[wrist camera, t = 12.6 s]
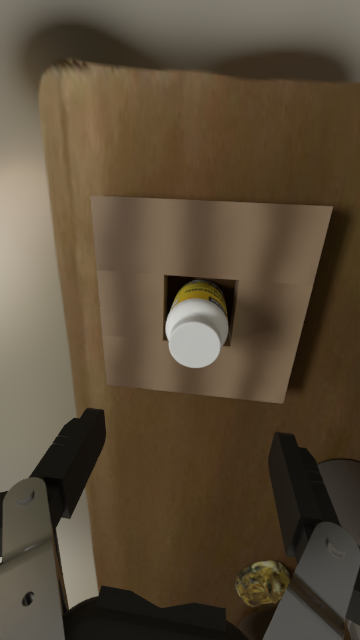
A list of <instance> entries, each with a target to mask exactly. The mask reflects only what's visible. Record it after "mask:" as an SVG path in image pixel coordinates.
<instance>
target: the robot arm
mask: <svg viewBox="0 0 360 640" xmlns="http://www.w3.org/2000/svg"><path fill="white" fill-rule="evenodd" d="M105 439H106V427H105V416H104V410H102V409H94V408H87V409H86V410H85V411H84V413H83V414H82V416H81V417H80V418H73V419H72V420H71V421H69V422H68V423H67V424H66V425H64V427H63V428H62V430H61V431H60V433H59V434H58V437H56V439H55V440H54V442H53V444H52V445H51V446H50V448H49V449H48V450H47V452H46V454H45V455H44V456H43V458H42V459H41V461H40V462H39V464H38V465H37V467H36V468H35V470H34V471H33V472H32V474H31V475H30V477H29V478H27V479H24V480H22V481H20V482H18V483H17V484H15V485H14V486H13V487H12V488H11V489H10V490H9V491H6V492H1V493H0V557H2V562H1V563H0V640H249V639H248V638H247V637H246V636H245V635H244V634H243V633H242V632H241V631H240V630H239V629H238V628H237V627H236V626H234V625H233V624H232V623H230V622H228V621H227V620H226V609H225V608H220V607H215V606H209V605H204V604H198V603H189V604H184V605H178V606H172V607H167V608H159V607H157V606H156V605H154V604H152V603H151V602H149V601H147V600H146V599H144V598H142V597H140V596H139V595H137V594H135V593H134V592H132V591H129V590H123V589H118V588H113V587H107V586H101V589H100V593H99V596H97V597H93V598H90V599H87V600H85V601H83V602H81V603H79V604H77V605H76V606H74V607H72V608H71V609H70V610H69V607H68V601H67V595H66V590H65V585H64V579H63V572H62V566H61V559H60V552H59V545H58V539H57V532H56V527H57V525H58V523H59V521H60V519H61V517H62V518H68V519H70V518H71V515H72V513H73V511H74V509H75V507H76V505H77V503H78V501H79V498H80V496H81V494H82V492H83V490H84V488H85V485H86V483H87V481H88V479H89V477H90V474H91V472H92V470H93V468H94V466H95V464H96V461H97V459H98V457H99V455H100V453H101V451H102V448H103V446H104V443H105ZM268 466H269V473H270V478H271V483H272V488H273V493H274V498H275V503H276V508H277V513H278V518H279V523H280V528H281V533H282V538H283V543H284V548H285V553H286V556H291V557H296V561H297V568H296V570H295V572H294V574H293V576H292V578H291V580H290V582H289V584H288V586H287V588H286V590H285V592H284V595H283V597H282V599H281V601H280V603H279V605H278V608H277V610H276V612H275V614H274V616H273V618H272V621H271V623H270V625H269V627H268V629H267V632H266V634H265V636H264V638H263V640H343V636H344V629H345V628H344V626H343V625H344V620H346V623H347V626H348V629H349V632H350V635H351V638H352V640H360V463H359V462H355V461H352V460H331V461H326V462H323V463H320V464H318V465H317V463H316V460H315V459H314V457H313V456H312V455H311V454H310V452H309V451H308V450H307V449H306V448H301V447H298V444H297V442H296V439H295V436H294V435H293V434H290V433H282V432H275V434H274V437H273V441H272V445H271V449H270V453H269V459H268Z"/></svg>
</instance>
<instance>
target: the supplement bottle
mask: <svg viewBox="0 0 360 640" xmlns="http://www.w3.org/2000/svg"><path fill="white" fill-rule="evenodd" d="M166 335H167V338H168V341H169V350H170V353H171V355H172V356H173V358H174V359H175V360H176V361H177V362H179V363H180V364H182V365H184V366H187V367H190V368H201V367H205V366H208V365H210V364H211V363H213V362H214V361H215V360H216V358H217V357H218V355H219V353H220V350H221V347H222V346H223V344H224V343H225V341H226V338H227V335H228V318H227V310H226V302H225V298H224V295H223V293H222V291H221V290H220V289H219V288H218V287H217V286H216V285H215V284H213V283H212V282H209V281H206V280H194V281H190V282H188V283H186V284H185V285H184V286H183V287H182V288H181V289H180V290H179V291H178V293H177V295H176V297H175V300H174V302H173V305H172V307H171V310H170V312H169V314H168V317H167V321H166Z"/></svg>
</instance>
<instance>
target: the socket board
mask: <svg viewBox="0 0 360 640" xmlns="http://www.w3.org/2000/svg"><path fill="white" fill-rule="evenodd" d="M90 197H91V209H92V220H93V232H94V243H95V255H96V266H97V278H98V289H99V301H100V312H101V324H102V336H103V347H104V359H105V370H106V382H107V385H114V386H123V387H133V388H142V389H151V390H161V391H170V392H179V393H189V394H198V395H208V396H217V397H226V398H236V399H245V400H254V401H264V402H273V403H282V404H283V402H284V398H285V394H286V390H287V386H288V382H289V378H290V374H291V370H292V366H293V363H294V359H295V355H296V351H297V347H298V343H299V339H300V335H301V331H302V327H303V323H304V319H305V315H306V311H307V307H308V303H309V300H310V296H311V292H312V288H313V284H314V280H315V276H316V272H317V268H318V264H319V260H320V256H321V252H322V248H323V244H324V241H325V237H326V233H327V229H328V225H329V221H330V217H331V213H332V209H333V206H313V205H291V204H270V203H248V202H226V201H204V200H182V199H160V198H138V197H116V196H93V195H90ZM169 275H173V276H187V277H201V278H216V279H230V280H236V283H235V291H234V298H233V306H232V314H231V321H230V329H229V334H228V335H227V338H226V341H225V343H224V344H223V346H222V347H221V350H220V353H219V355H218V357H217V358H216V360H215V361H214V362H213V363H211V364H210V365H208V366H205V367H201V368H190V367H187V366H184V365H182V364H180V363H179V362H177V361H176V360H175V359H174V358H173V356H172V355H171V353H170V350H169V341H168V338H167V335H166V321H167V317H168V277H169Z"/></svg>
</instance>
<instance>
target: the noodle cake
mask: <svg viewBox="0 0 360 640" xmlns="http://www.w3.org/2000/svg"><path fill="white" fill-rule="evenodd" d="M289 582H290V575H289V572H288V571H287V569H286V568H285V567H284V566H283V565H282V564H281V563H280V562H278V561H262V562H257V563H254V564H251V565H249V566H247V567H245V568H244V569H243V570H242V571H241V573H240V574H239V575H238V576H237V577H236V580H235V586H236V590H237V592H238V594H239V596H240V597H241V598H242V600H243V601H244V602H245V603H246V604H247V605H249V606H251V607H255V606H260V604H267V603H277V601H278V600H279V599H281V598H282V597H283V595H284V592H285V590H286V588H287V586H288V584H289Z"/></svg>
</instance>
